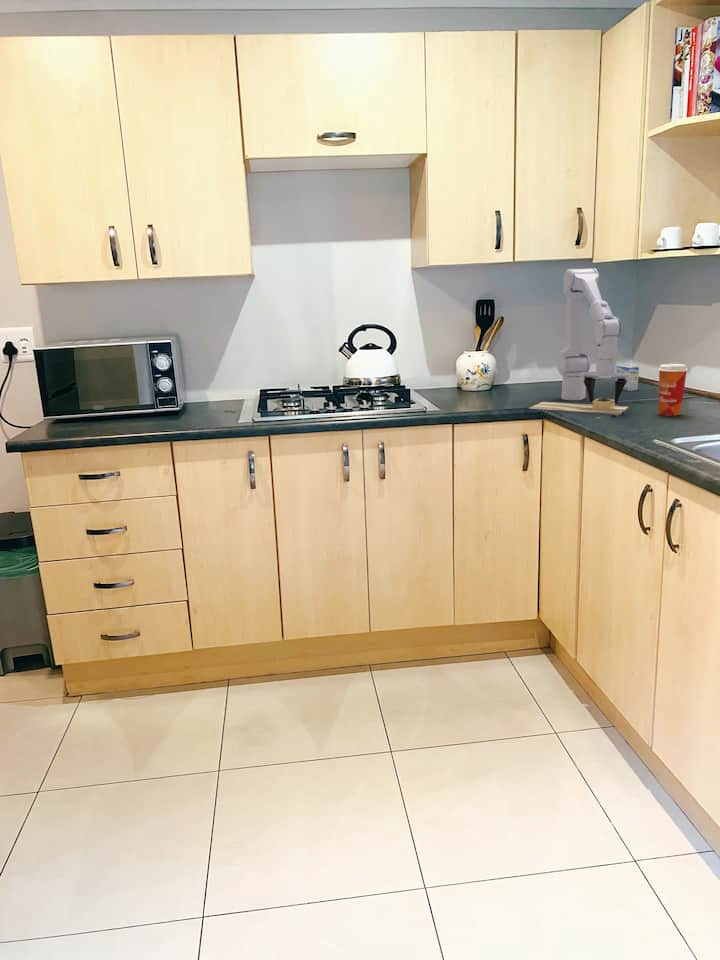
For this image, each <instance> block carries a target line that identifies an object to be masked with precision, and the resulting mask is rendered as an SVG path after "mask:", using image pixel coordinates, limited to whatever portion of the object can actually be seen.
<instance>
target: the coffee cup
mask: <svg viewBox="0 0 720 960" xmlns="http://www.w3.org/2000/svg"><path fill="white" fill-rule="evenodd" d="M688 370H689V369H688V366H687V365H686V364H682V363H662V364H660V365H659V368H658V371H659V372H658V415H659V414H661V415H660V416H662V415H669V416H668V417H676V416H675V415H679V416H680V415H681V412H682V405H683V399H684V398H683V397H684V391H685V386H686V385H685V384H686V378H687V372H688ZM672 415H673V416H672Z"/></svg>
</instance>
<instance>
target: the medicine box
mask: <svg viewBox="0 0 720 960" xmlns="http://www.w3.org/2000/svg"><path fill="white" fill-rule="evenodd" d="M639 371H640V367H638V366H631V365H626V364H625V365H623V364H620V365H616V369H615V372H617V373H630V380H627V382H626V384H625V386H624V388H623V390H622V391H626V392H630V391H631V392H633V391H634V392H635V391H637V390H638V388H639V387H638V386H639V385H638V384H639V373H640V372H639ZM615 381H617V380H614V382H615Z"/></svg>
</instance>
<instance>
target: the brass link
mask: <svg viewBox="0 0 720 960" xmlns="http://www.w3.org/2000/svg"><path fill="white" fill-rule="evenodd" d="M601 399H602V398H596V399H594V401H593V402H592V410H602V411H611V410H613V409H614V408H615V406H616V403H615V398H613V399H612V398H606V399H607V401H601Z"/></svg>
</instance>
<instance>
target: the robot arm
mask: <svg viewBox="0 0 720 960" xmlns="http://www.w3.org/2000/svg"><path fill="white" fill-rule="evenodd" d="M599 279H600V274H599V272H598V270H597V268H595V267H592V268H568V269H567V270H565V272H564V275H563V277H562V292H563V296H566V346H565V347H564V348H563V349H562V350H561V351H559V353H558V359H557V364H556V365H557V366H556V367H557V372H558V373H559V375H560V376H562V378H561V379H562V380H561V381H562V382H561V400H564V401H581V400H584V399H586V393H587V394H588V399H589V403H593V401H594V400H595V386H596V380H614V389H615V390H614V391H615V393H614V399H615V405H616V404H618V403H619V401H620V397H621V395H622V391H624V390H623V388H624V386H625V384H626V382H627V380H630V373H617V372H616V366H617V349H618V348H617V347H618V338H619V337H620V336H621V334H622V331H623V325H622V322H621V319H620V318H619V317H616V316H614V315H613V312H612V310H611V307H610V306H609V303H608V302H607V301H606V300H603V299H602V294H601V292H600V289H599V286H598V285H599ZM584 297H586V299H587V301H588V303H589V304H590V307H589V313H590V315H591V317H592V320H593V323H594V325H595V326H594V335H595V343H596V345H597V346H596V348H597V349H596V362H595V363H596V367H595V371H590V370H591V365H592V363H591V358H590V352H589V350H587V348H586V347H584V346H583V299H584ZM615 380H617V381H615ZM586 391H587V392H586Z"/></svg>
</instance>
